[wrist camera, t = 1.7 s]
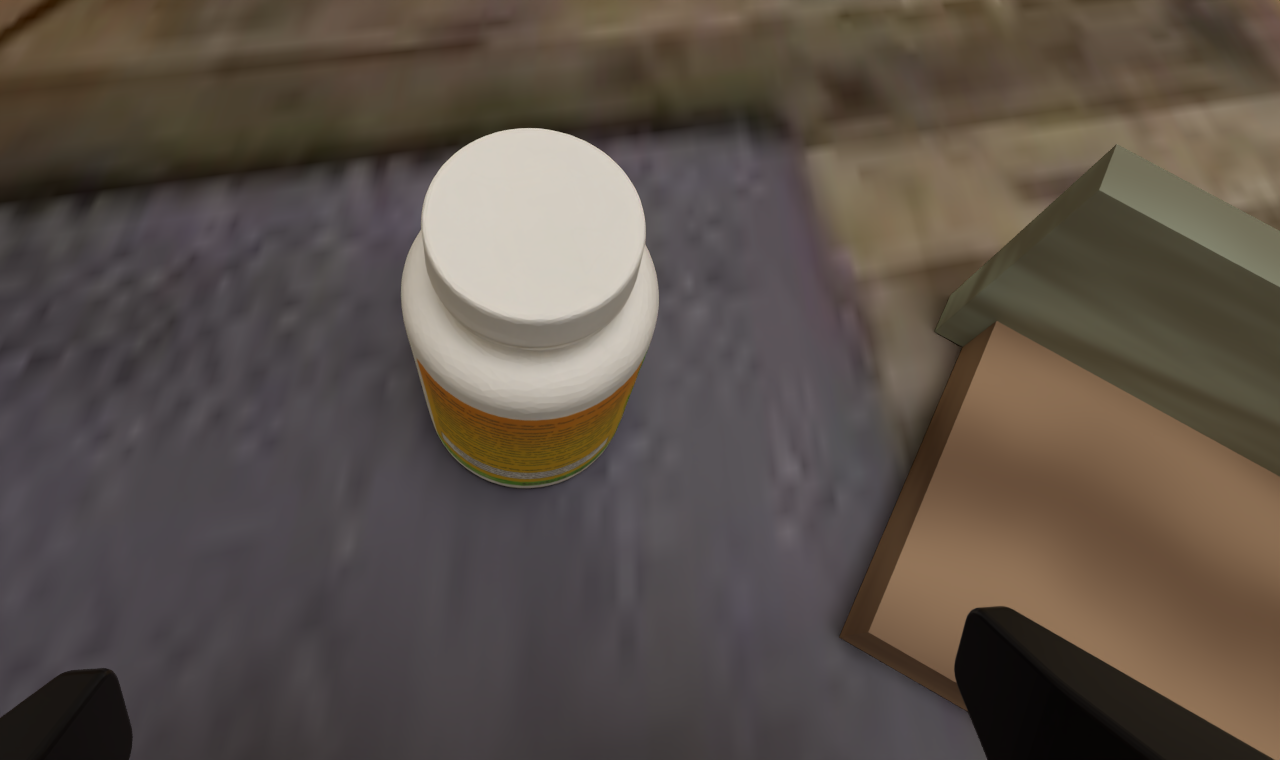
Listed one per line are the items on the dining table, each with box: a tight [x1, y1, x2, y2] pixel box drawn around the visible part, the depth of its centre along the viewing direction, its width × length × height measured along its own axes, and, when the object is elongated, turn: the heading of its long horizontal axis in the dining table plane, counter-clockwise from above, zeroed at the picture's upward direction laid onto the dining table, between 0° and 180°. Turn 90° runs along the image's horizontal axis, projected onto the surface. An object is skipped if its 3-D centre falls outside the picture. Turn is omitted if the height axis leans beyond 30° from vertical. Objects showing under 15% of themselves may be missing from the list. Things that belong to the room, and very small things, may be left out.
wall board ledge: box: [840, 144, 1280, 760], centre depth 21 cm, size 12×18×8 cm, turn 61°
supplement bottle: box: [401, 128, 659, 488], centre depth 19 cm, size 5×5×10 cm
